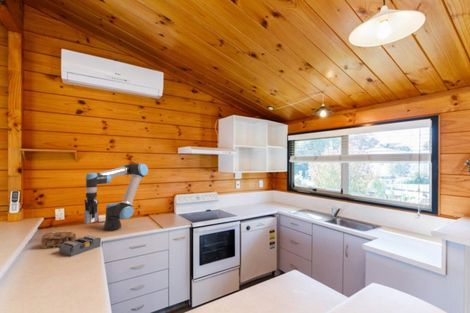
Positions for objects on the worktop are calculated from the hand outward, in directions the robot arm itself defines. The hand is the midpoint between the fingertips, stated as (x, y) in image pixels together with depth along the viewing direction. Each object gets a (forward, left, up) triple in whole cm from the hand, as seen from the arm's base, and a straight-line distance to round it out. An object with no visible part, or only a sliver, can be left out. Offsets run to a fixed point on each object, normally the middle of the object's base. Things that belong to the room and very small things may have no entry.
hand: (90, 221), depth 187 cm
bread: (+18, -9, -15) cm, 25 cm away
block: (0, 0, 0) cm, 0 cm away
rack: (+16, +12, -15) cm, 25 cm away
